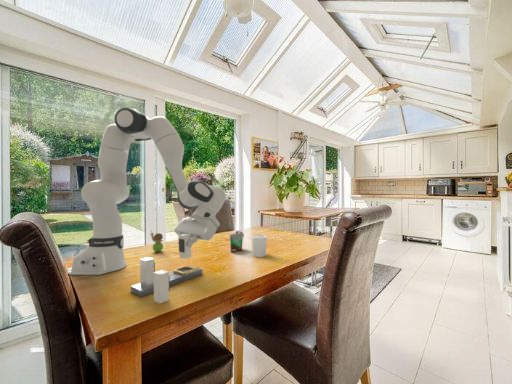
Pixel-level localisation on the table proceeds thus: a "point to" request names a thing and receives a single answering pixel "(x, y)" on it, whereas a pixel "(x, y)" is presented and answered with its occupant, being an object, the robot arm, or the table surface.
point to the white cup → (259, 245)
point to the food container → (236, 241)
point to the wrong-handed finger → (161, 286)
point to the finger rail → (171, 282)
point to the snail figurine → (157, 242)
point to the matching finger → (184, 246)
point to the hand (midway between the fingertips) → (183, 245)
